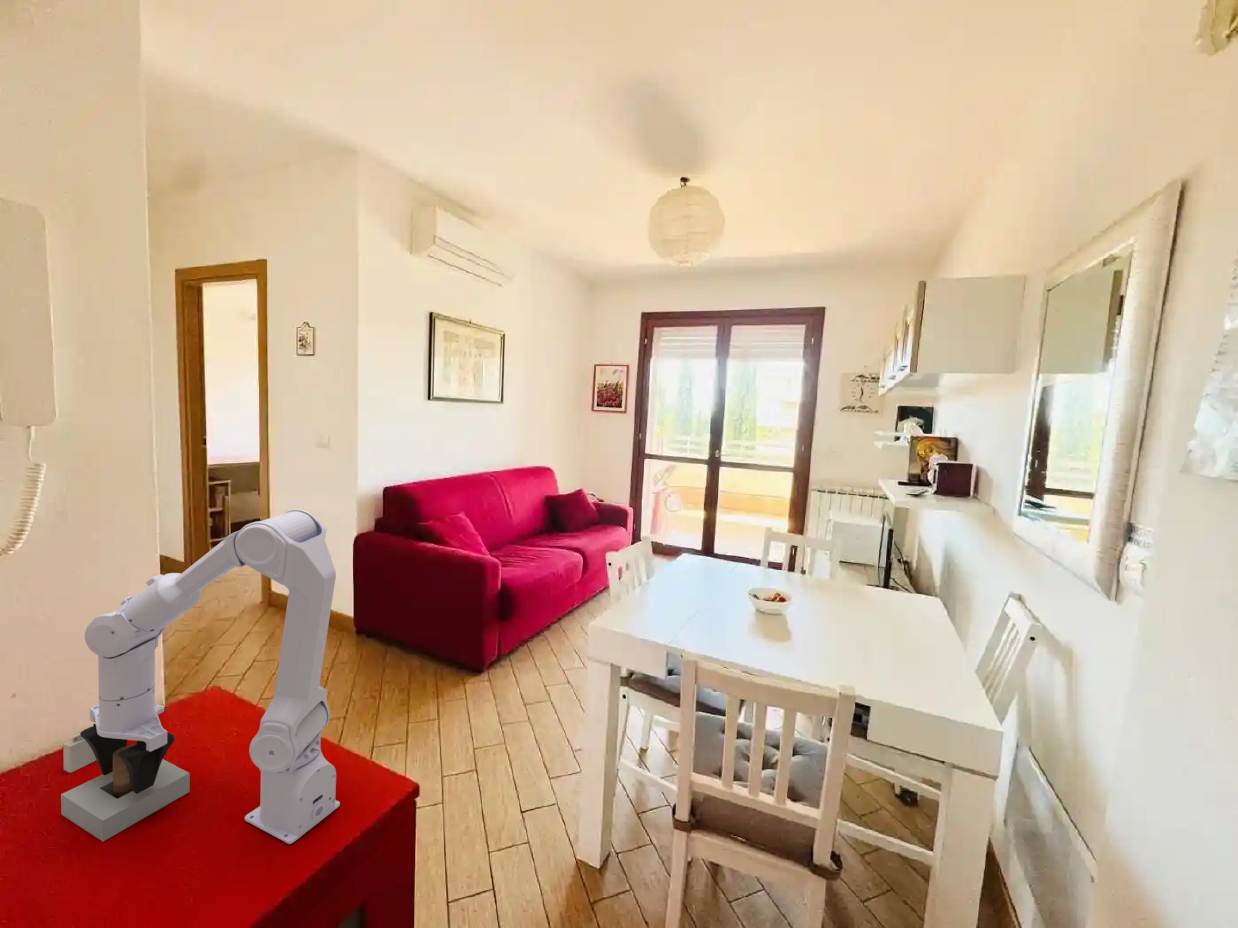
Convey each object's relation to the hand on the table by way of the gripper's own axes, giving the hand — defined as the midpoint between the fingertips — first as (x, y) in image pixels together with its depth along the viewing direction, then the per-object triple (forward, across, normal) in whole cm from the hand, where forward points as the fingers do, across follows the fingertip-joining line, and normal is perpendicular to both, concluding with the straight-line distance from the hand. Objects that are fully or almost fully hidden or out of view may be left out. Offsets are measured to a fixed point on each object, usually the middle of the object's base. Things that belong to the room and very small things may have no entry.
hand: (127, 779), depth 73 cm
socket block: (+4, 0, 0) cm, 4 cm away
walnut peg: (+4, 0, 0) cm, 4 cm away
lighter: (+4, +15, -3) cm, 16 cm away
